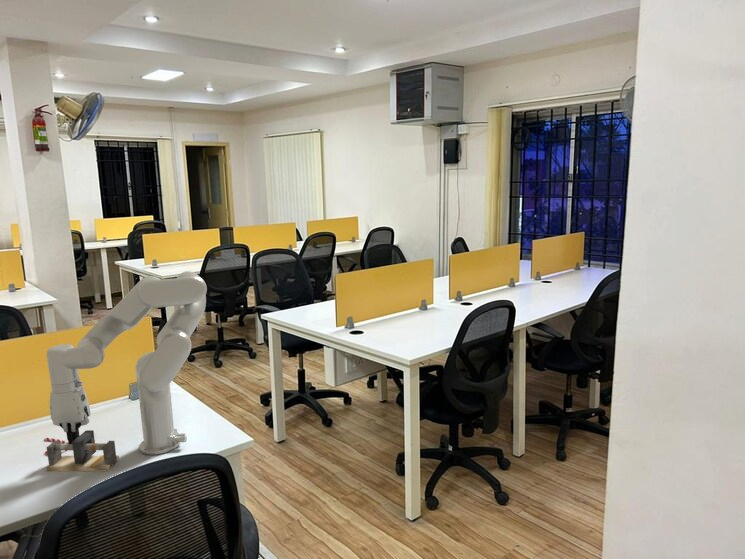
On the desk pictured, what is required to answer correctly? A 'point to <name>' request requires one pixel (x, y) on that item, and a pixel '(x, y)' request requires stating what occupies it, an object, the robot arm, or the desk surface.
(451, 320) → the desk surface
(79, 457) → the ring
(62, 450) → the candy cane
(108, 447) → the rail fixture
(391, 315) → the desk surface
